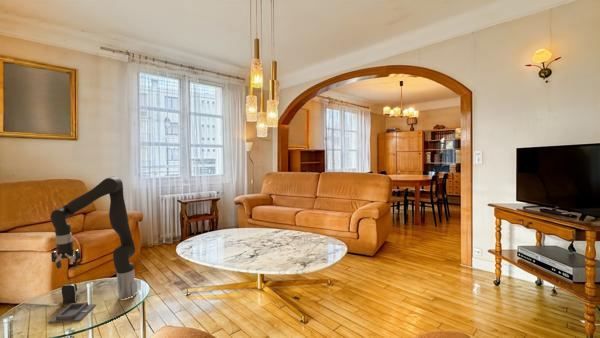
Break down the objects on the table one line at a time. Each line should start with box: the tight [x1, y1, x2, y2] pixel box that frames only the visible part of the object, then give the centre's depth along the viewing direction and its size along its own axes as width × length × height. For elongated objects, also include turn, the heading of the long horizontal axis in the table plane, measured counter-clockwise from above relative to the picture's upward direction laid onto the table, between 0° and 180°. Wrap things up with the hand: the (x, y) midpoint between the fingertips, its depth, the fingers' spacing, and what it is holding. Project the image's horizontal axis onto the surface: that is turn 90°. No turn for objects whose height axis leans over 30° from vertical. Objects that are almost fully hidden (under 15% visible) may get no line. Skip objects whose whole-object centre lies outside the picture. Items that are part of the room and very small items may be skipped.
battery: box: [61, 282, 78, 304], centre depth 169 cm, size 7×4×11 cm, turn 97°
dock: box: [47, 301, 97, 324], centre depth 158 cm, size 16×14×3 cm
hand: (67, 267), depth 167 cm, fingers open, 8 cm apart
